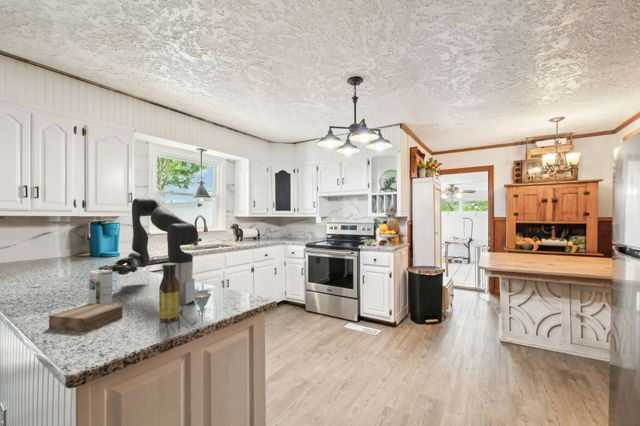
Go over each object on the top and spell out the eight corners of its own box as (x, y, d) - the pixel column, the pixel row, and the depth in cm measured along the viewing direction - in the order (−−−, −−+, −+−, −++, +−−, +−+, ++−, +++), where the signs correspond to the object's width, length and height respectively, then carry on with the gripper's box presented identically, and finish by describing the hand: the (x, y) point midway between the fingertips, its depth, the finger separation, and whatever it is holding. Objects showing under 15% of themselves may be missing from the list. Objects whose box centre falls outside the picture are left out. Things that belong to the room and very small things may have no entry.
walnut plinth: (122, 316, 108) (122, 305, 108) (85, 331, 94) (85, 318, 94) (89, 314, 110) (89, 303, 110) (48, 328, 96) (49, 315, 96)
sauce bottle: (163, 317, 107) (164, 262, 107) (181, 317, 108) (182, 262, 108) (155, 324, 100) (156, 265, 101) (174, 323, 101) (175, 264, 101)
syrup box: (87, 308, 117) (88, 271, 117) (103, 304, 123) (103, 269, 123) (97, 310, 115) (97, 272, 115) (112, 306, 120) (113, 270, 121)
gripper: (110, 257, 144) (93, 263, 128) (143, 257, 147) (130, 263, 132) (109, 273, 144) (93, 281, 128) (142, 272, 147) (130, 279, 132)
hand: (112, 271), depth 130 cm, fingers open, 8 cm apart
